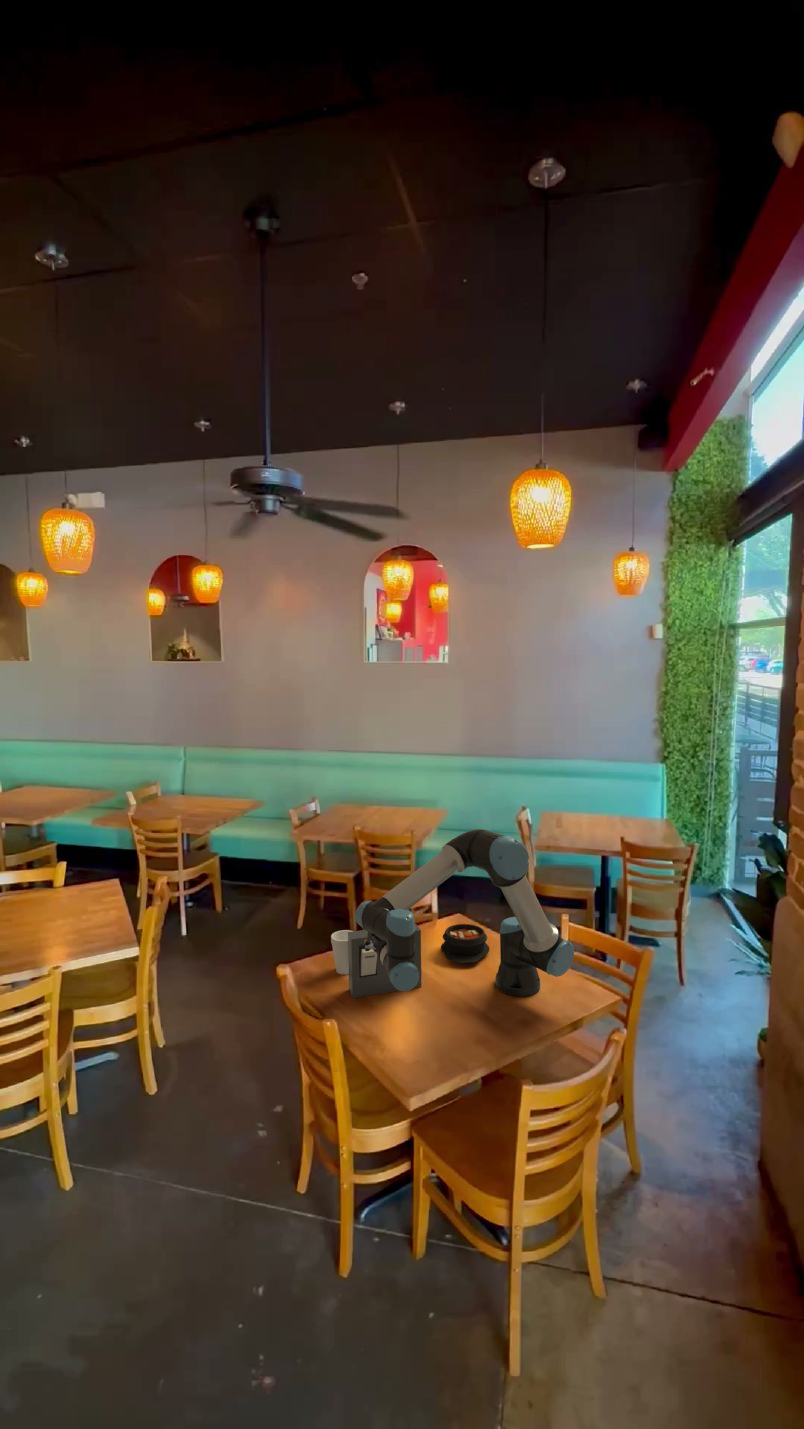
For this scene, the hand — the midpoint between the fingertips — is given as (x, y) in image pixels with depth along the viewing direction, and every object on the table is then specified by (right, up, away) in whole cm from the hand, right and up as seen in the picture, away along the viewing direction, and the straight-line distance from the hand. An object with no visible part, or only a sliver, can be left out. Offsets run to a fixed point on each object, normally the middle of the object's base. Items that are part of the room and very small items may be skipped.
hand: (374, 922), depth 203 cm
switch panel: (+2, -27, +19) cm, 33 cm away
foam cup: (-12, -26, +28) cm, 40 cm away
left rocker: (-3, -20, +10) cm, 22 cm away
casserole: (+33, -25, +40) cm, 58 cm away
